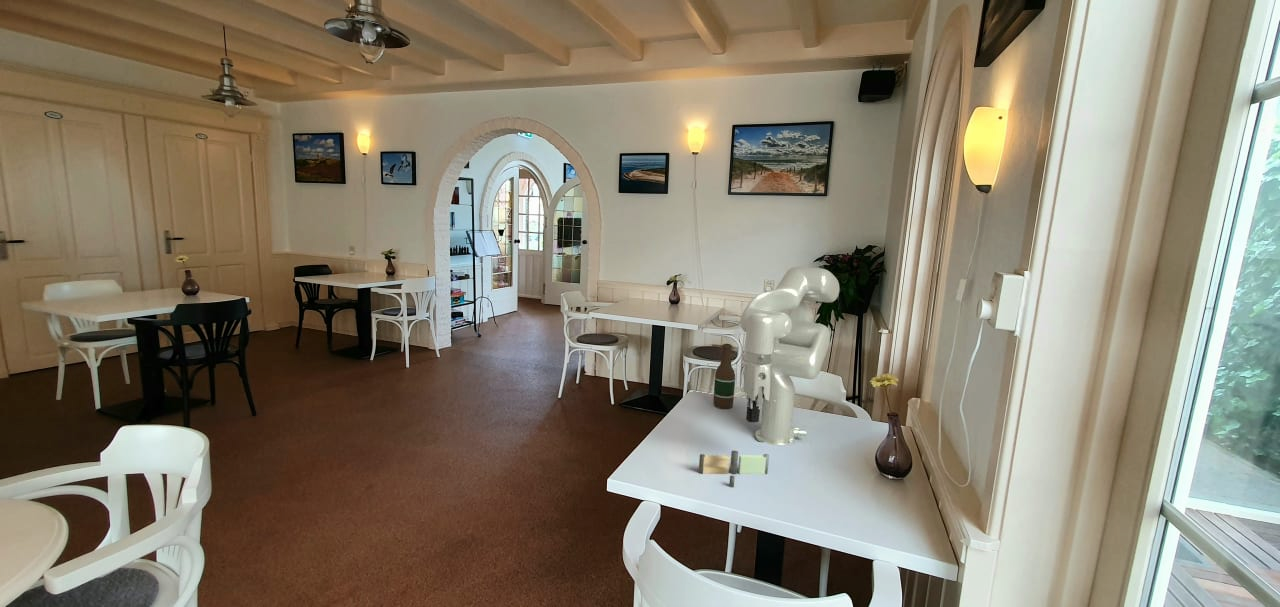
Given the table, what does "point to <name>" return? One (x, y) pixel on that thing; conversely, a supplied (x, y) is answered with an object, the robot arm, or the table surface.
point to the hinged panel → (753, 464)
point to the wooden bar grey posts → (719, 465)
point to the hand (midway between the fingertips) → (752, 421)
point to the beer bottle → (724, 381)
